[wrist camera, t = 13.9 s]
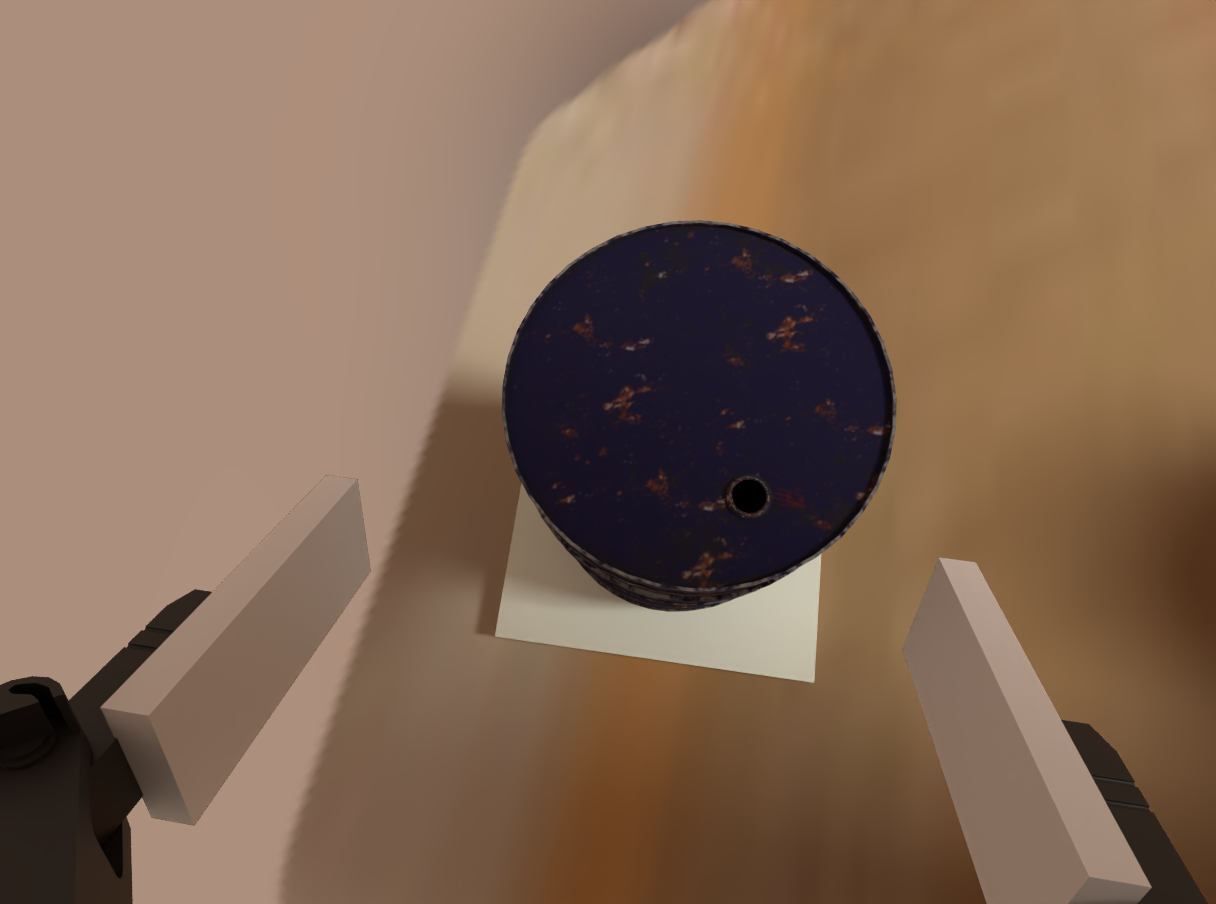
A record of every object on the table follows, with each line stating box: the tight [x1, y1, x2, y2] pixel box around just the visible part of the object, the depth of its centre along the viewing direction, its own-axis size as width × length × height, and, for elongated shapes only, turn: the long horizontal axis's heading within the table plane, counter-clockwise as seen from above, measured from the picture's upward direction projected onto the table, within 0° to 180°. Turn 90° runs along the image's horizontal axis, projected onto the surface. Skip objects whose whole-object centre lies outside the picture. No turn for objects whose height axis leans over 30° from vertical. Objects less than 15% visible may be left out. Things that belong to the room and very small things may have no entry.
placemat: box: [495, 482, 821, 683], centre depth 31 cm, size 14×14×1 cm
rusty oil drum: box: [502, 220, 897, 612], centre depth 24 cm, size 10×10×15 cm
